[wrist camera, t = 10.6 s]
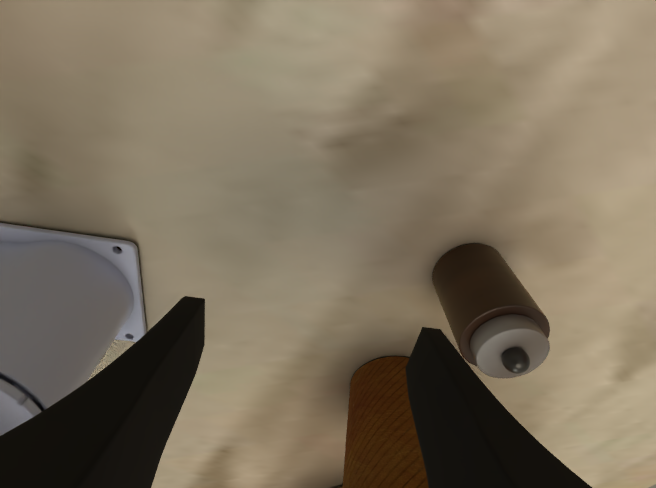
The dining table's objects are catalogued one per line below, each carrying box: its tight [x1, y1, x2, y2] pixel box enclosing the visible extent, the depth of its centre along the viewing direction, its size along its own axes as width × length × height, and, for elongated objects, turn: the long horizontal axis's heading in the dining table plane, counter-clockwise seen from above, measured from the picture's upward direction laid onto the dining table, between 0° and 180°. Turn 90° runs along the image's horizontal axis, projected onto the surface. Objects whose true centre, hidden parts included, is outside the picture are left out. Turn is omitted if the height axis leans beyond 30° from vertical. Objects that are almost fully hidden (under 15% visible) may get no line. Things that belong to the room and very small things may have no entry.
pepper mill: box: [432, 244, 550, 378], centre depth 20 cm, size 4×4×8 cm
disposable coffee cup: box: [343, 356, 429, 488], centre depth 24 cm, size 10×10×12 cm
